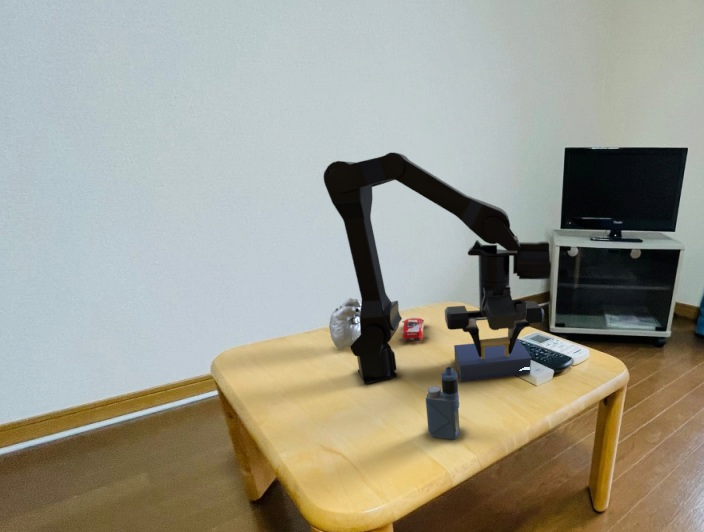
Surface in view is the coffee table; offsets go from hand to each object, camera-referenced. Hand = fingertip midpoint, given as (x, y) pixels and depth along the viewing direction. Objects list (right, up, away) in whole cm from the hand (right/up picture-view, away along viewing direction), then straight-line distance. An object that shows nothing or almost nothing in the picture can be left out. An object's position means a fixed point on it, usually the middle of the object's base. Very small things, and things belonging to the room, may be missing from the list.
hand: (494, 354), depth 80 cm
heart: (-36, +2, +15) cm, 39 cm away
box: (-1, -3, +5) cm, 6 cm away
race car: (-22, +5, +22) cm, 31 cm away
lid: (-1, 0, +3) cm, 3 cm away
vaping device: (-7, -13, -17) cm, 22 cm away
